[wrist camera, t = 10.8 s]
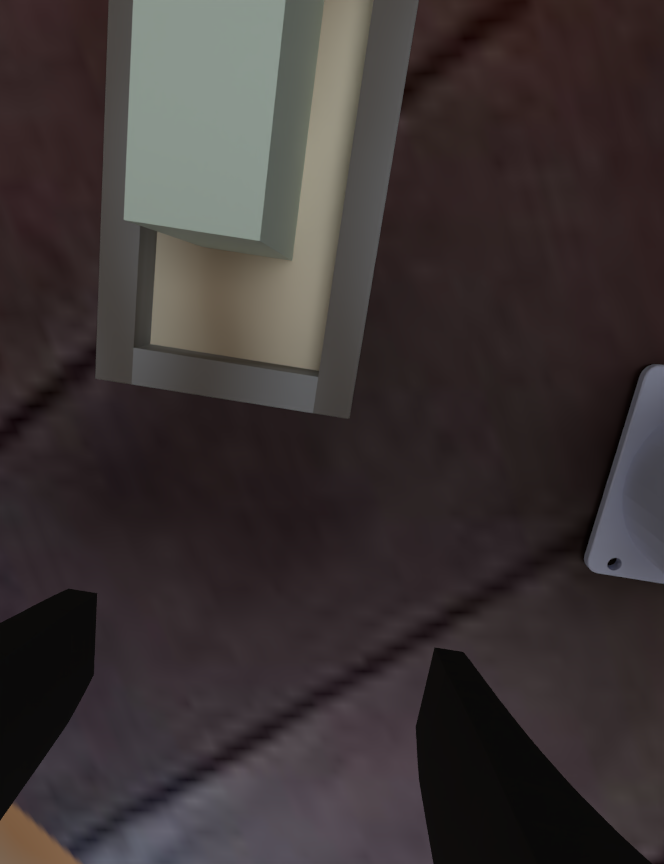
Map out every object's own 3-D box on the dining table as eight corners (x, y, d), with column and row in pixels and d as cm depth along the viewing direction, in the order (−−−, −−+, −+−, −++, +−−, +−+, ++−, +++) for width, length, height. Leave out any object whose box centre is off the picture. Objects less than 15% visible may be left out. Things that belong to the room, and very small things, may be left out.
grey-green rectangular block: (332, -67, 15) (318, -306, 9) (292, 260, 17) (260, 241, 11) (229, -83, 15) (147, -331, 9) (202, 246, 17) (123, 219, 11)
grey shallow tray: (456, -238, 14) (473, -332, 12) (349, 405, 19) (349, 418, 17) (157, -285, 14) (122, -386, 12) (124, 369, 19) (95, 378, 17)
